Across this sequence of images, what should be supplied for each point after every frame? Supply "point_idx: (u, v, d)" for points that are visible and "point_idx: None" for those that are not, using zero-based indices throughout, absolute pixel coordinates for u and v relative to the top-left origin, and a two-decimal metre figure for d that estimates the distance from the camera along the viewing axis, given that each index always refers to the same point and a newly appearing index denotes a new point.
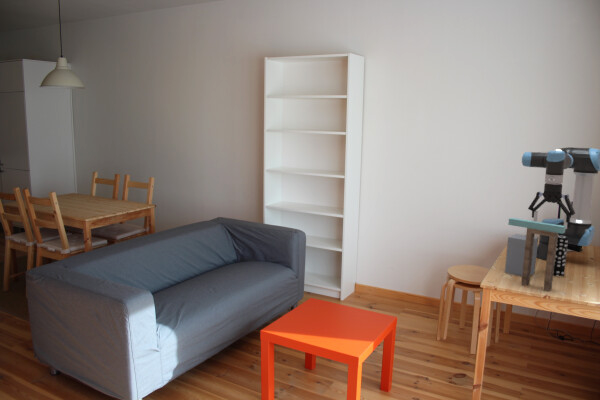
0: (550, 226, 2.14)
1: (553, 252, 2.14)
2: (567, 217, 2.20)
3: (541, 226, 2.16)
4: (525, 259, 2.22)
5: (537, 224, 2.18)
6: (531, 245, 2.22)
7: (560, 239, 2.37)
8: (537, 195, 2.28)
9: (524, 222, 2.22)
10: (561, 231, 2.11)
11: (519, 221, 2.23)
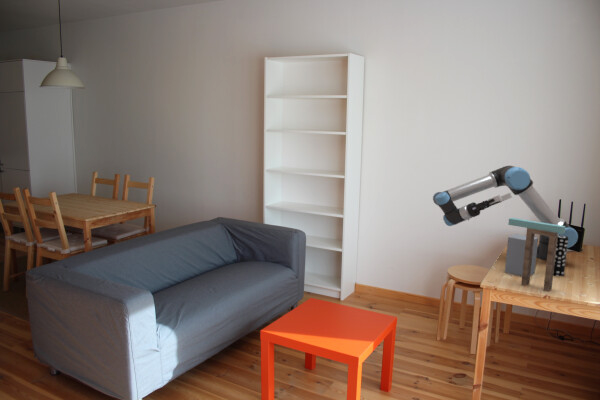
0: (550, 226, 2.14)
1: (553, 252, 2.14)
2: (490, 203, 2.40)
3: (541, 226, 2.16)
4: (525, 259, 2.22)
5: (537, 224, 2.18)
6: (531, 245, 2.22)
7: (560, 239, 2.37)
8: None
9: (524, 222, 2.22)
10: (561, 231, 2.11)
11: (519, 221, 2.23)
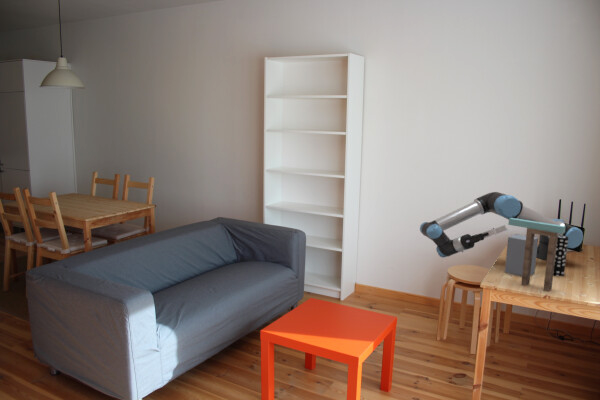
0: (550, 226, 2.14)
1: (553, 252, 2.14)
2: (484, 236, 2.30)
3: (541, 226, 2.16)
4: (525, 259, 2.22)
5: (537, 224, 2.18)
6: (531, 245, 2.22)
7: (560, 239, 2.37)
8: None
9: (524, 222, 2.22)
10: (561, 231, 2.11)
11: (519, 221, 2.23)
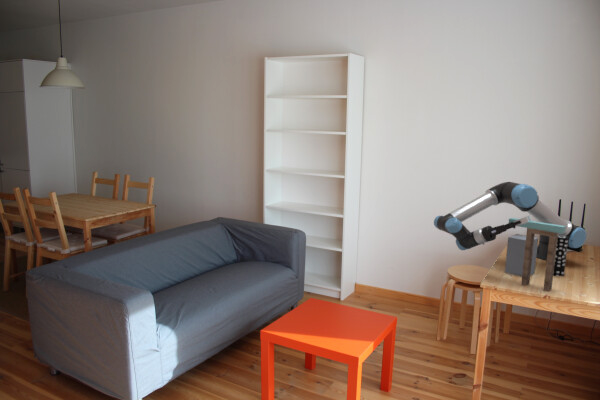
0: (550, 226, 2.14)
1: (553, 252, 2.14)
2: (516, 225, 2.23)
3: (541, 226, 2.16)
4: (525, 259, 2.22)
5: (537, 224, 2.18)
6: (531, 245, 2.22)
7: (560, 239, 2.37)
8: None
9: None
10: (561, 231, 2.11)
11: None
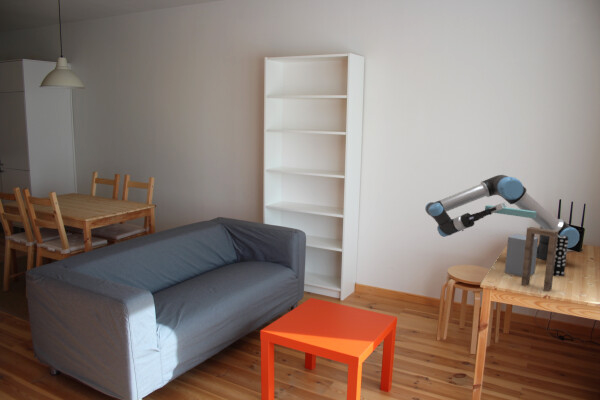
0: (522, 212, 2.30)
1: (553, 252, 2.14)
2: (492, 211, 2.39)
3: (515, 211, 2.32)
4: (525, 259, 2.22)
5: (511, 210, 2.34)
6: (531, 245, 2.22)
7: (560, 239, 2.37)
8: None
9: None
10: (532, 216, 2.27)
11: None
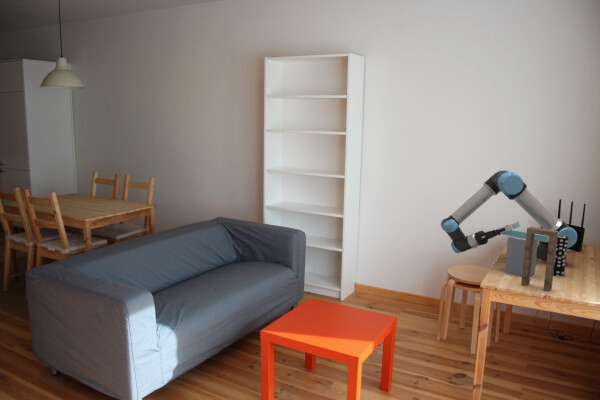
0: (536, 235, 2.35)
1: (553, 252, 2.14)
2: (501, 232, 2.43)
3: None
4: (525, 259, 2.22)
5: (524, 233, 2.39)
6: (531, 245, 2.22)
7: (560, 239, 2.37)
8: None
9: (512, 231, 2.43)
10: (546, 240, 2.32)
11: None
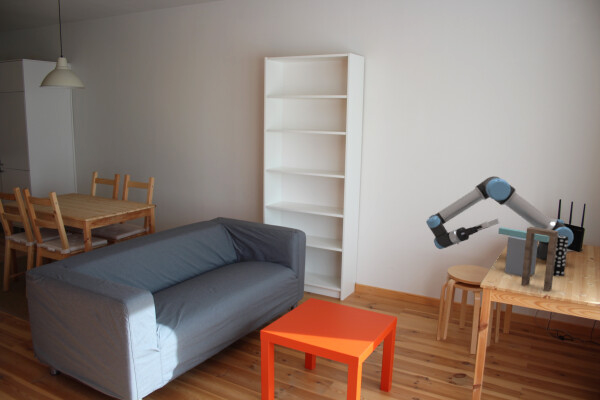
0: (536, 235, 2.35)
1: (553, 252, 2.14)
2: (478, 229, 2.50)
3: None
4: (525, 259, 2.22)
5: (524, 233, 2.39)
6: (531, 245, 2.22)
7: (560, 239, 2.37)
8: None
9: (512, 231, 2.43)
10: (546, 240, 2.32)
11: (508, 230, 2.44)
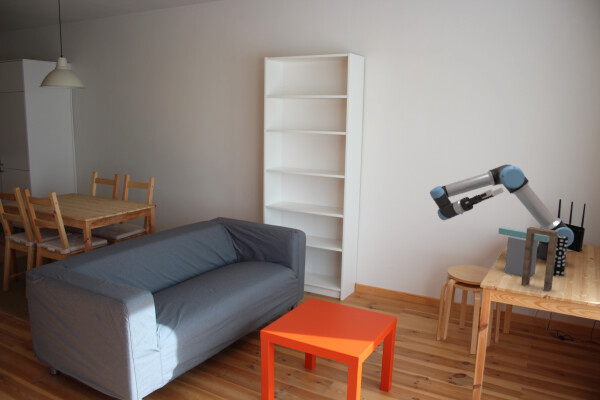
0: (536, 235, 2.35)
1: (553, 252, 2.14)
2: (482, 197, 2.47)
3: None
4: (525, 259, 2.22)
5: (524, 233, 2.39)
6: (531, 245, 2.22)
7: (560, 239, 2.37)
8: None
9: (512, 231, 2.43)
10: (546, 240, 2.32)
11: (508, 230, 2.44)
